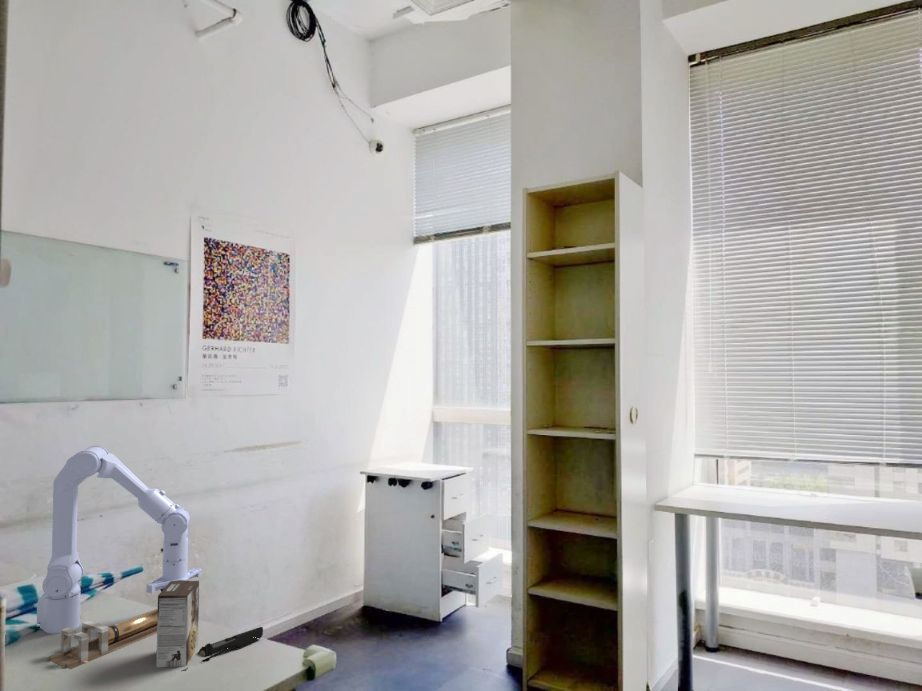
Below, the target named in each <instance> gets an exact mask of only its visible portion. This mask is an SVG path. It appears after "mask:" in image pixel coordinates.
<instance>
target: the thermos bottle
mask: <svg viewBox="0 0 922 691" xmlns="http://www.w3.org/2000/svg"><path fill="white" fill-rule="evenodd" d="M157 616H158V608H155V609H152V610H150V611H148V612H144V613H142V614H139V615H137V616H134V617H131V618H129V619H126V620H123V621H121V622H118V623H116V624H113V625H110V626H108V627H109V629H108V644H111V643H114V642H116V641H118V640H121V639H123V638H126V637H128V636H131V635H133V634H136V633H138V632H141V631H143V630H146V629H148V628H151V627H153V626H156V625H157ZM96 639H97V643H98V644H99V632H97V631H96Z"/></svg>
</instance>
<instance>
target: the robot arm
mask: <svg viewBox="0 0 922 691" xmlns="http://www.w3.org/2000/svg"><path fill="white" fill-rule="evenodd" d="M96 473H98V474H97V475H96V477H97V478H99V479H100V478H101V479H111V480H113V481H115V482H116V483H117V484H118V485H120V486H121V487H122V488H124V489H125V490H126V491H127V492H128V493H130V494H131V495H133V496H134V497H135V498H136V499H137V501H138V503H137V504H138V507H139V508H140V509H141V510H142V511H143V512H144V513H145V514H147V515H148V516H149V517H150V518H151V519H152V520H154V521H155V522H156V523H158V524H160V525H161V527H160V528H161V531H162V533H163V534H164V535H163V539H164V540H163V541H162V542H163V544H162V546H163V548H162V553H163V554H162V576H160V577H159V578H157V579H155V580H153V581H152V582H148V583H147V584H146V590H145V591H146V593H148V594H155V593H156V592H157V591H160V593H161V592H162V590H163V589H164V588H165V587H166V586H167V585H168V584H169V582H170V581H190V580H192V579H194V578H200V577H202V568H200V567H193V568H190V569H188V568H189V566H188V565H189V564H188V562H189V538H188V535H189V531H188V525H189V524H190V521H191V520H190V518H191V517H190V513H189V512H188V510H187V508H185V507H181V505H179V504H178V503H175V502H173V501H172V500H171V499H170V498H169V497H167V496H166V493H167V492H166V491H165V490H164V489H161V490H160V489H158V488H151V487H150V488H149V487H148V486H147V485H146V484H145V483H143V481H141V479H139V478H138V477H137V476H136V475H135V473H133V472H132V471H131V470H130V469H129V468H128V467H127V466H125V464H124V463H123V462H122V461H120V459H119V458H118V457H117V456H116V455H115V454H113V453H112V452H109V451H108V449H106V448H105V447H103V446H101V445H91V446H89V447H87V448H86V449H84V450H81V451H78V452H77V453H75V454H73V455H72V456H71V457H70V458H68V459H67V460H66V461H65V464H64V466H63V467H62V468H61V469H60V471H59V473H58V474H57V475H56V476H55V478H54V480H53V487H52V488H53V489H52V491H53V493H52V530H51V532H52V536H51V537H52V539H51V540H52V542H51V557H50V560H49V563H48V565H47V571H46V573H47V574H46V576H45V577H44V578H43V582H42V584H41V585H42V591H43V594H42V595H41V596H39V599H38V601H37V604H36V625H37V624H40V628H39V629H41V630H43V631H44V632H45V633H47V634H61V632H62V630H63V629H66V628H71V629H74V630H76V629H77V628H79V626H80V625H81V586H80V585H79V582H80V581H81V580H82V578H83V576H84V573H85V572H84V567H83V565H82V564H81V560H80V554H79V552H78V512H79V511H78V506H79V505H78V504H79V503H78V500H79V491H78V490H79V486H80V485H81V484H82V483H83V482H84V481H86V479H88V478H89V477H91V476H93V475H95V474H96Z"/></svg>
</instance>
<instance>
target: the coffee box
mask: <svg viewBox="0 0 922 691" xmlns="http://www.w3.org/2000/svg"><path fill="white" fill-rule="evenodd" d="M199 593H200V580H188V581H170V582H169V584H168V585H167V586H166V587H165V588H164V589H163V590H162V592H161V591H160V593H159V594H158V595H157V609H158V616H157V634H156V657H155V658H156V660H155V661H156V664H155V666H156V668H177V667H185V668H184V669H182V670H181V672H185V671H187V670H188V669H189V667H188V665H189V663H190V662H191V660H192V659H193V657H194V656H195V654H196V652H197V650H198V649H199V617H200V616H199V612H200V611H199V609H200V603H199V601H200V600H199V599H200V594H199Z"/></svg>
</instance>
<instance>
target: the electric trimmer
mask: <svg viewBox="0 0 922 691" xmlns="http://www.w3.org/2000/svg"><path fill="white" fill-rule="evenodd" d="M263 635H264V627H263V626H259V627H255V628H254V629H250V630H247V631H245V632H242V633H238V634H234V635H232V636H231V637H226V638H224V639H221V640H218V641H216V642H213V643H210V642H209V643H207V644H205V645H204V646H201V648H200V649H199V651H198V652H197V654H200V655H201V656H203V657H204V658H205V659H202V660H201V662H202V663H204V662H206V663H207V662H209V661H210V660H211V659H212V658H214V657H216V656H219V655H222V654H224V653H227V652H230V651H232V650H235V649H234V648H239V649H241V647H242V648H243V646H244V647H245V645H246V646H247V645H249V644H252V643H253V642H255V641H257V640H258V639H257V638H259V639H261V638H262V637H263ZM253 637H254V638H253ZM255 637H256V638H255ZM227 648H228V649H227ZM229 650H230V651H229Z"/></svg>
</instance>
